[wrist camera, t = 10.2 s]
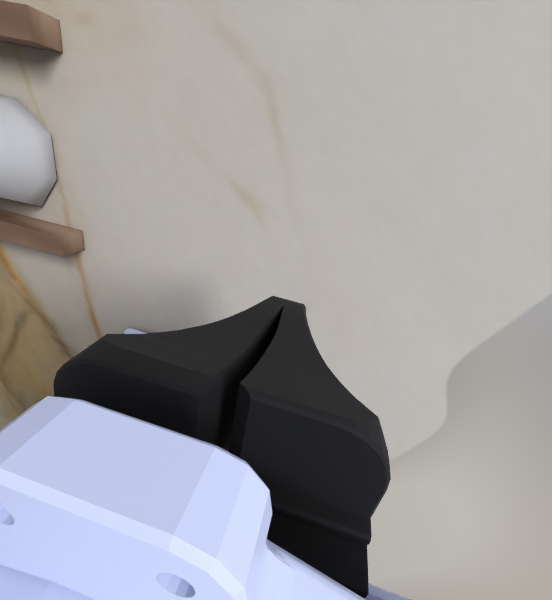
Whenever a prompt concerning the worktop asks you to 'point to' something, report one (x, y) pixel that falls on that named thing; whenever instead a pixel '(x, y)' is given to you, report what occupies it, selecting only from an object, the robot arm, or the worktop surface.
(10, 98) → the flask
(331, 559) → the robot arm
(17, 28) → the walnut bay
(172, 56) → the worktop surface
